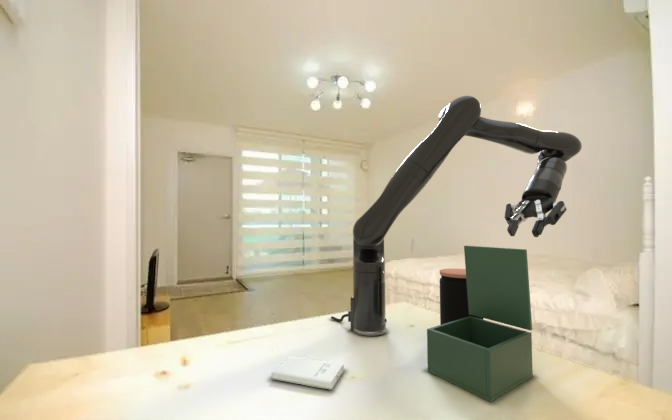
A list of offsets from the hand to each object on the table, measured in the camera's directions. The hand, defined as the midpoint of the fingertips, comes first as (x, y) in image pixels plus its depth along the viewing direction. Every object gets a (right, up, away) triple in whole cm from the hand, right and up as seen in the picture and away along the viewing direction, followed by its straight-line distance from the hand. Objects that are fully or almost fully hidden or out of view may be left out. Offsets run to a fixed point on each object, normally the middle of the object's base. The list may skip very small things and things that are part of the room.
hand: (522, 234), depth 76 cm
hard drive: (-51, -28, -13) cm, 60 cm away
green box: (-16, -28, -12) cm, 35 cm away
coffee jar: (-12, -29, +6) cm, 32 cm away
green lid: (-11, -10, -8) cm, 17 cm away
